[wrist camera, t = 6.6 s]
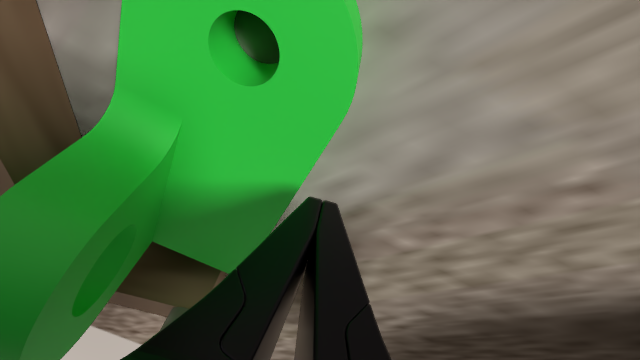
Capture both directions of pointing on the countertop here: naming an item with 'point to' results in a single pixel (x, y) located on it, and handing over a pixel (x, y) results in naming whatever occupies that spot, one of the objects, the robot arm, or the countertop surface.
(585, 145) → the countertop surface
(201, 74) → the mechanical part
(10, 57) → the dock bracket
